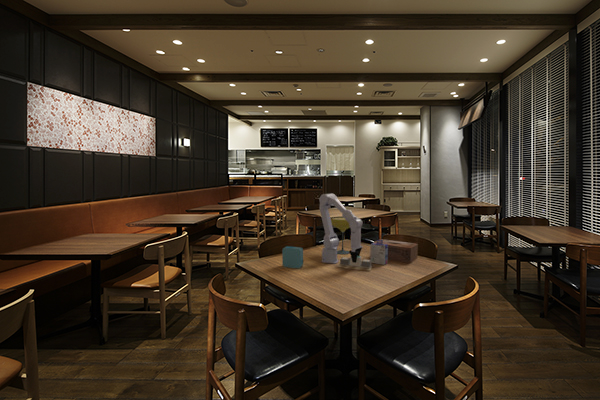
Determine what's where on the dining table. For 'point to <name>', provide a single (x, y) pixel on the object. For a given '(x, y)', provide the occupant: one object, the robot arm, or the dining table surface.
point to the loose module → (356, 261)
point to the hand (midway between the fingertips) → (355, 260)
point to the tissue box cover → (401, 250)
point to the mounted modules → (363, 263)
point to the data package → (292, 257)
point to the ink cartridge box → (379, 253)
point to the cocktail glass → (342, 225)
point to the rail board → (355, 267)
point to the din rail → (356, 266)
